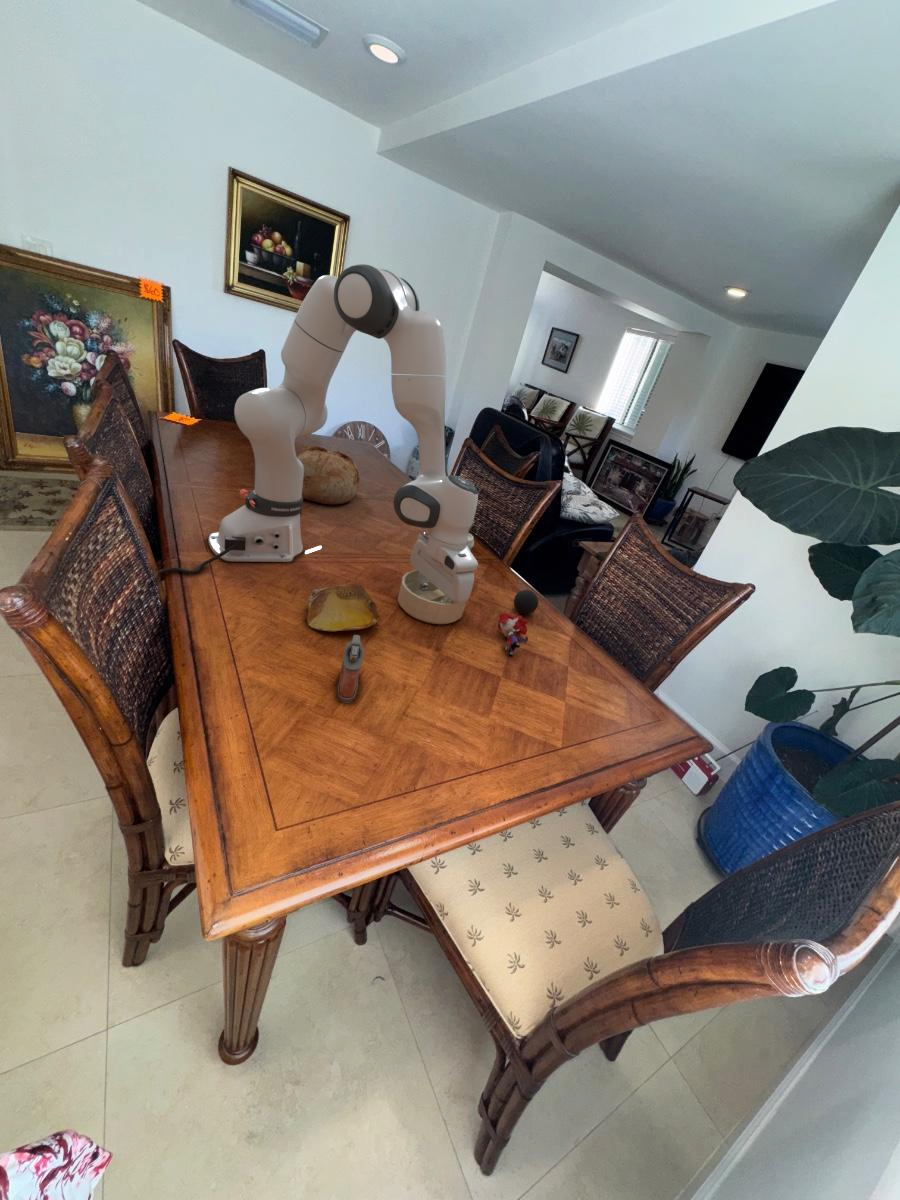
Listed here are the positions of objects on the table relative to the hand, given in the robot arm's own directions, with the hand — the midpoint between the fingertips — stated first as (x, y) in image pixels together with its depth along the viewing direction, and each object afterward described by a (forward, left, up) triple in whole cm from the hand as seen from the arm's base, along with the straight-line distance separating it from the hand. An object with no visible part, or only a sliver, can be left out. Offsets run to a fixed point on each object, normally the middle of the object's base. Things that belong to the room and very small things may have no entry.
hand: (432, 598), depth 117 cm
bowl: (0, 0, -2) cm, 2 cm away
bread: (+5, +74, -2) cm, 74 cm away
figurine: (+10, -19, -3) cm, 22 cm away
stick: (0, 0, -2) cm, 2 cm away
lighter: (-32, -19, -2) cm, 37 cm away
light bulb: (+25, -8, -2) cm, 26 cm away
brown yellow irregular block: (-23, +2, -2) cm, 23 cm away
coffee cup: (+17, +14, -2) cm, 22 cm away
